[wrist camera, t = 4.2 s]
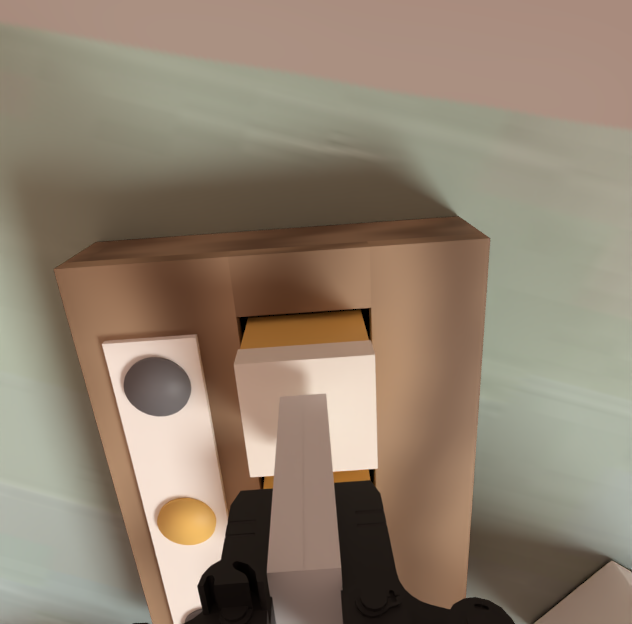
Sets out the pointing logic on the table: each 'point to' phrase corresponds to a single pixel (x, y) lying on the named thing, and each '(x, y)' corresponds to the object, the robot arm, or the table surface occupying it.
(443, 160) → the table surface
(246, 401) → the yellow white square block
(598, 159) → the table surface
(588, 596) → the milk carton
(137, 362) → the push button panel
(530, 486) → the table surface
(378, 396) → the button board
